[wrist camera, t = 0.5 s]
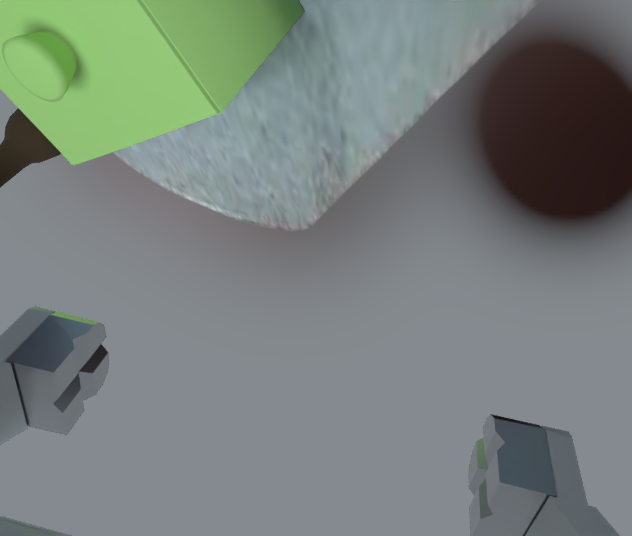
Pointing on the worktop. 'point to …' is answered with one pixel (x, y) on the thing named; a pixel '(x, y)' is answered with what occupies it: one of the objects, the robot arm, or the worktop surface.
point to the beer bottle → (22, 146)
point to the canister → (131, 64)
